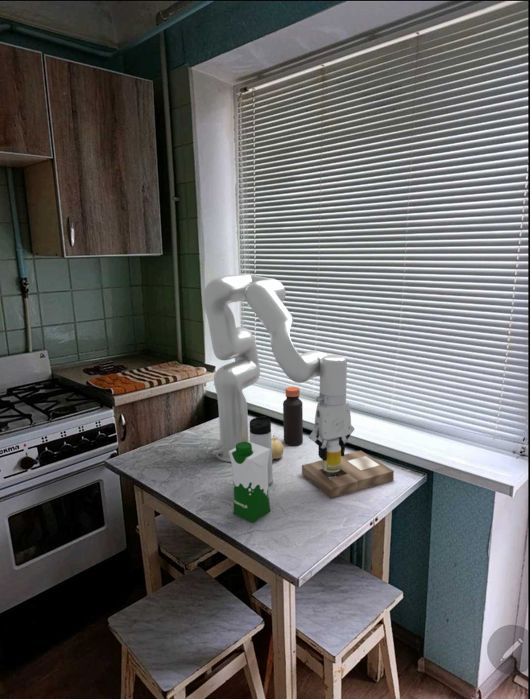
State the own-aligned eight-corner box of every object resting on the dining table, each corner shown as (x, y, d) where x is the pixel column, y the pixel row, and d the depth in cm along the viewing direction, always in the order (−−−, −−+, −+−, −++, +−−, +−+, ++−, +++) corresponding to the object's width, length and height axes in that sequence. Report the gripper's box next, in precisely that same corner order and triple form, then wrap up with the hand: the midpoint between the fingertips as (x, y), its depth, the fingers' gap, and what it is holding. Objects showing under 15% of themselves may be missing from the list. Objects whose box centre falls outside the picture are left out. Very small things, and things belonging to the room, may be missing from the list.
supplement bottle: (318, 468, 139) (318, 438, 137) (330, 462, 142) (331, 433, 140) (332, 474, 135) (332, 443, 133) (344, 469, 138) (345, 438, 136)
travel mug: (275, 479, 141) (274, 416, 137) (268, 489, 135) (266, 424, 131) (256, 476, 143) (254, 414, 139) (248, 486, 137) (246, 422, 133)
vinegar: (280, 443, 166) (279, 389, 162) (290, 437, 172) (289, 384, 167) (296, 447, 162) (295, 393, 158) (306, 441, 168) (305, 387, 163)
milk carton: (228, 514, 124) (224, 443, 119) (251, 499, 130) (249, 432, 126) (252, 526, 118) (249, 453, 114) (275, 510, 124) (274, 441, 120)
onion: (281, 463, 151) (281, 443, 150) (257, 462, 153) (257, 442, 151) (285, 453, 159) (284, 433, 157) (262, 451, 160) (261, 432, 159)
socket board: (330, 498, 130) (330, 488, 129) (302, 474, 144) (301, 464, 143) (393, 480, 139) (393, 470, 138) (360, 458, 153) (360, 449, 152)
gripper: (313, 407, 127) (313, 468, 131) (365, 397, 134) (363, 455, 138) (300, 399, 133) (299, 457, 137) (349, 390, 140) (348, 446, 144)
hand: (331, 456), depth 138 cm, fingers closed on supplement bottle, 5 cm apart
